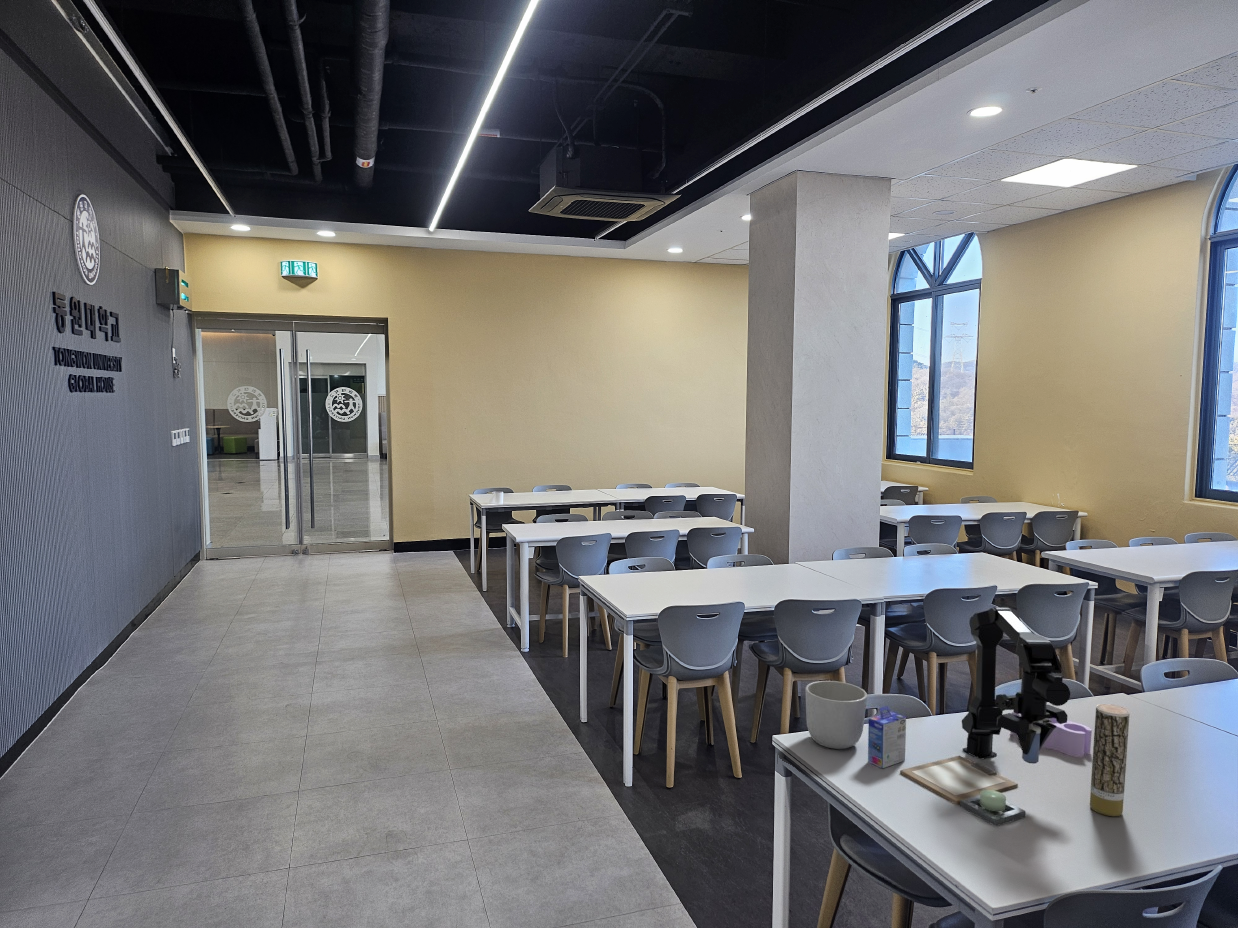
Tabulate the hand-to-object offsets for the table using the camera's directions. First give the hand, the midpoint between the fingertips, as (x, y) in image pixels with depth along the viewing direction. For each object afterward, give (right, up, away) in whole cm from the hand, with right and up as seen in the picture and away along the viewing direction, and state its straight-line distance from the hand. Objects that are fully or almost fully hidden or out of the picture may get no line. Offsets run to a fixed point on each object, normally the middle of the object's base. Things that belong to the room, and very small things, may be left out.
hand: (1030, 752), depth 195 cm
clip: (+24, -10, +35) cm, 43 cm away
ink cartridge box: (-29, -10, +20) cm, 37 cm away
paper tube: (+16, -13, -4) cm, 21 cm away
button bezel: (-12, -12, -6) cm, 18 cm away
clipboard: (-14, -11, +10) cm, 20 cm away
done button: (-12, -10, -6) cm, 17 cm away
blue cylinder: (0, -2, 0) cm, 2 cm away
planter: (-40, -9, +31) cm, 52 cm away
